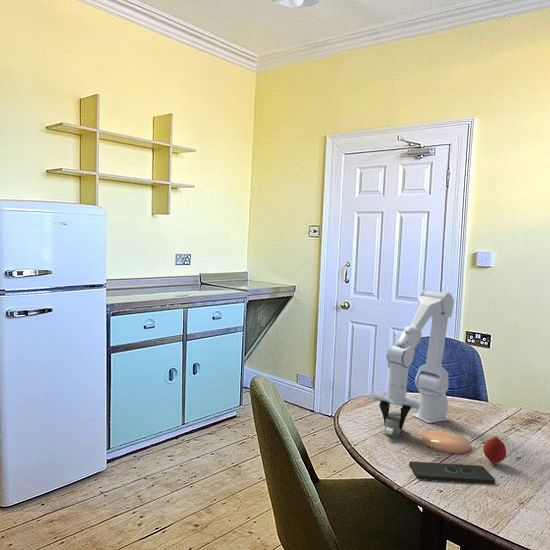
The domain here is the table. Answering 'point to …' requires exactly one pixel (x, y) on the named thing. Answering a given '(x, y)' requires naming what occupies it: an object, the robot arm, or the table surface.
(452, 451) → the plate
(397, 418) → the connector
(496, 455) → the onion
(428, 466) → the smart home device
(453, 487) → the table surface
